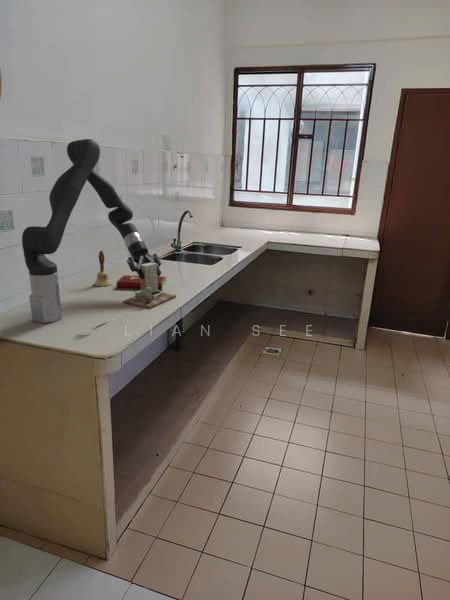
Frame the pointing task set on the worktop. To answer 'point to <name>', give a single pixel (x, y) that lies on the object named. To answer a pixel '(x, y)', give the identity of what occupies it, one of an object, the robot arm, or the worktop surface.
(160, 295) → the pin board
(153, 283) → the skincare box
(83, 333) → the fork
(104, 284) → the hand bell
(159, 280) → the hardcover book
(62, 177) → the robot arm
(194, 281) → the worktop surface
